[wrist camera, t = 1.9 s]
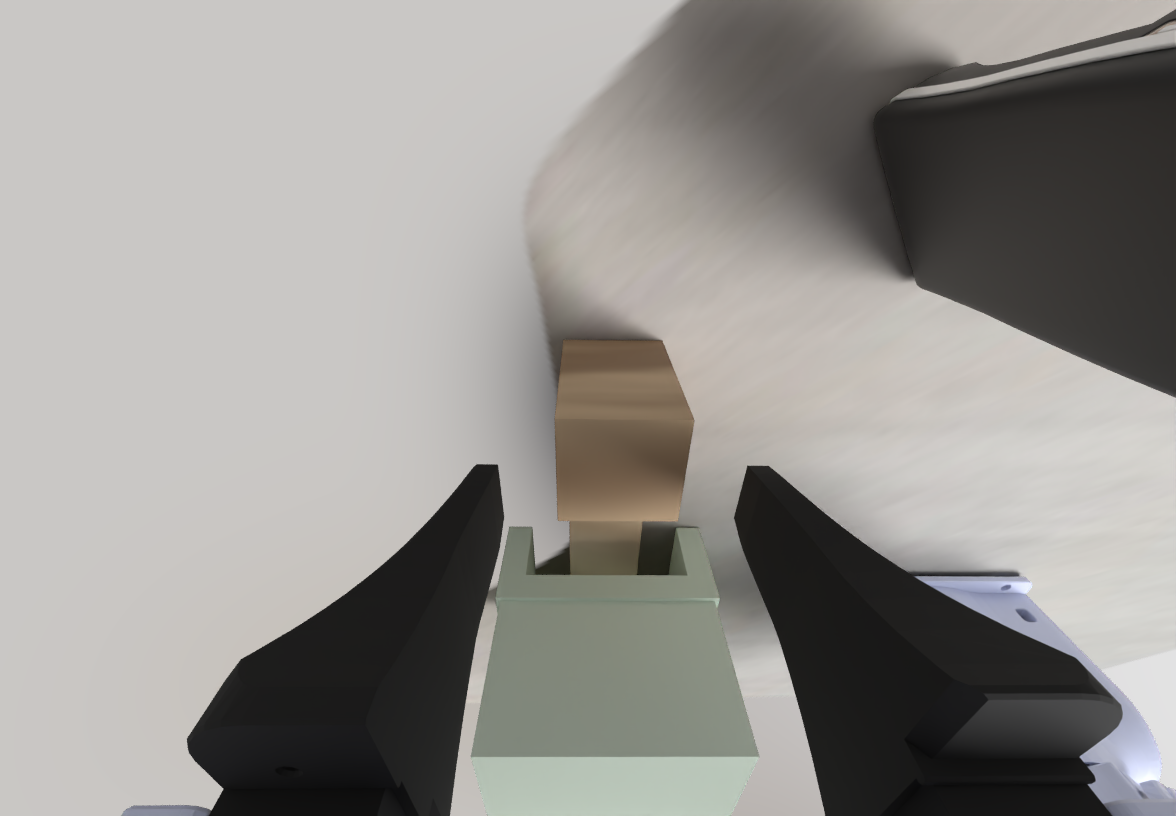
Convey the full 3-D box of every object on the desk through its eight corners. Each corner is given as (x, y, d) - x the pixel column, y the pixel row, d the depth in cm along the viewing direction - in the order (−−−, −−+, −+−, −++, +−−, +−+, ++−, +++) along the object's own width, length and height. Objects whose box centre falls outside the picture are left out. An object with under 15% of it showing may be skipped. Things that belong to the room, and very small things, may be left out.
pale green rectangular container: (509, 526, 23) (463, 754, 14) (698, 527, 23) (766, 754, 14) (518, 611, 27) (487, 833, 18) (681, 612, 27) (727, 832, 18)
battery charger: (1023, 234, 16) (1769, 381, 6) (912, 293, 17) (1384, 501, 7) (993, 21, 13) (2453, -433, 3) (860, 109, 14) (1571, 7, 4)
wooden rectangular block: (563, 339, 18) (554, 419, 12) (662, 340, 18) (694, 420, 12) (567, 568, 25) (562, 679, 19) (637, 568, 25) (651, 679, 20)
